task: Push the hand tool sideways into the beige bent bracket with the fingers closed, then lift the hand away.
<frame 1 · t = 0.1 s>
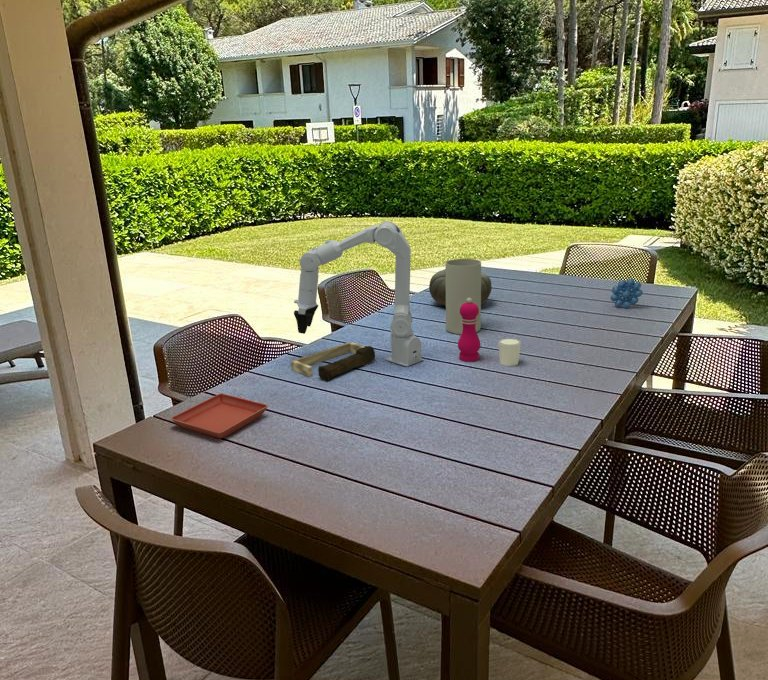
hand: (304, 329, 209), 11 cm above the table, fingers open, 7 cm apart
beige bent bracket: (332, 363, 208), on the table
pepper mill: (469, 358, 208), on the table
cream cylinder: (509, 363, 203), on the table
plant saucer: (221, 423, 170), on the table
gourd: (461, 305, 269), on the table
grapes: (625, 308, 256), on the table
cylinder vase: (463, 330, 237), on the table
hand tool: (348, 370, 203), on the table
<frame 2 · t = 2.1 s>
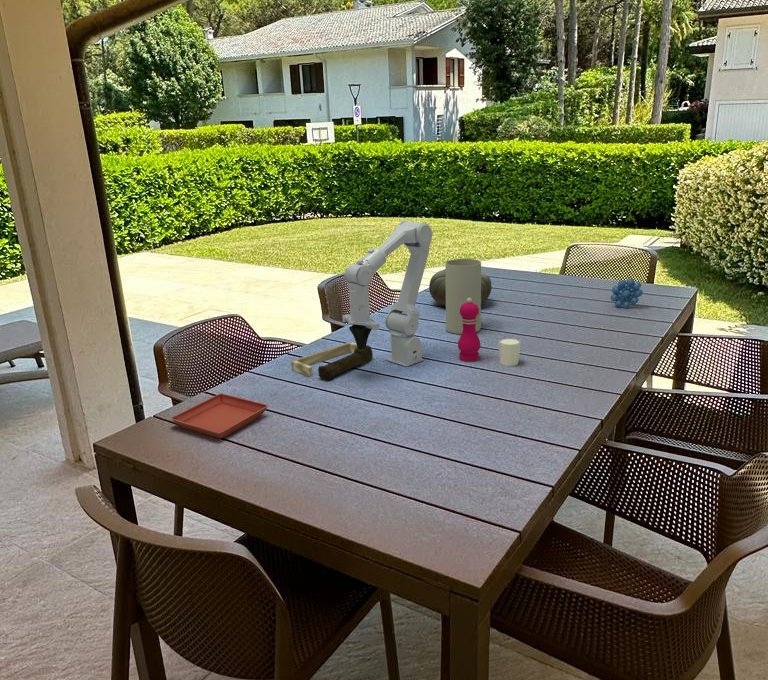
hand: (361, 348, 195), 8 cm above the table, fingers closed
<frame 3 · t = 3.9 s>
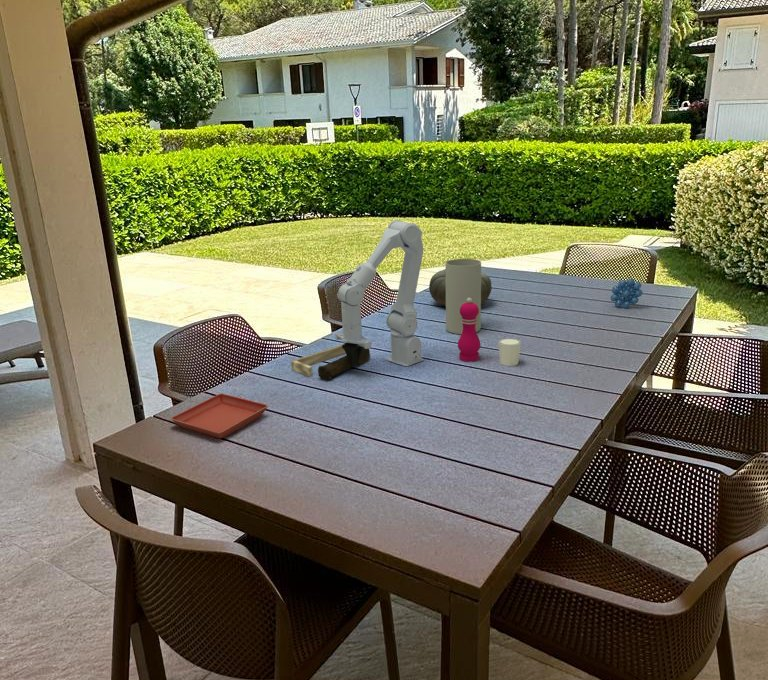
hand: (354, 365, 200), 2 cm above the table, fingers closed
hand tool: (345, 369, 204), on the table, touching gripper
everything else where it was.
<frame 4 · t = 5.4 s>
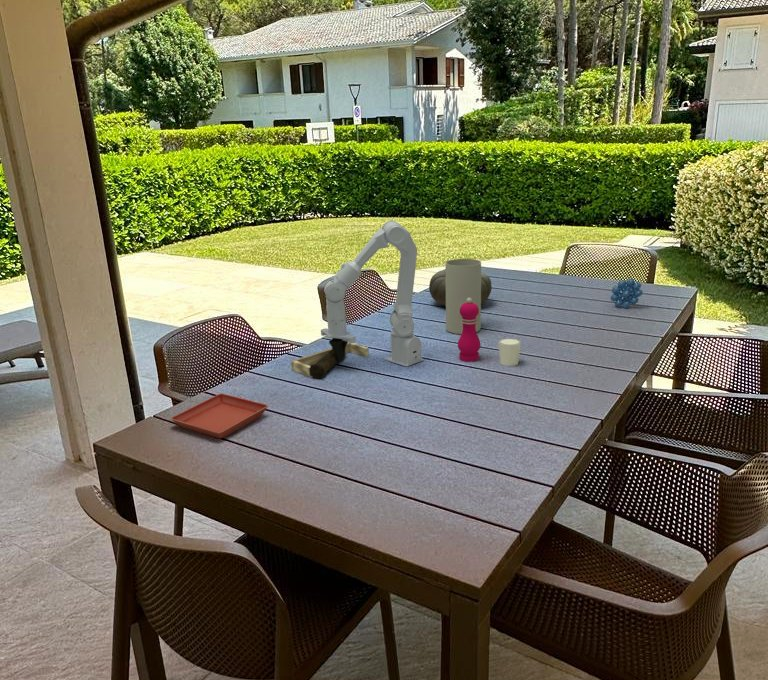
hand: (339, 360, 205), 2 cm above the table, fingers closed, pressing on hand tool
hand tool: (329, 366, 206), on the table, touching gripper, beige bent bracket
everything else where it was.
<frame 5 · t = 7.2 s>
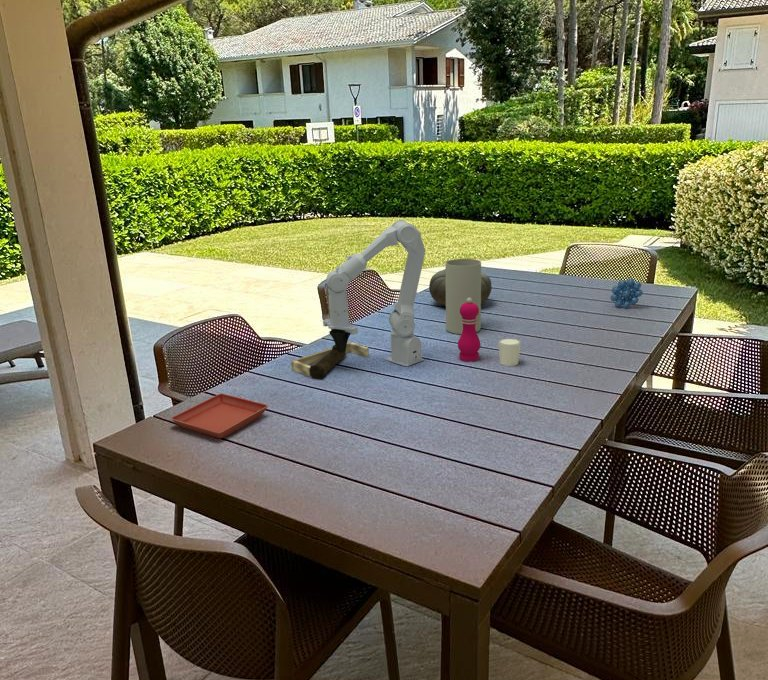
hand: (341, 351, 203), 5 cm above the table, fingers closed
hand tool: (329, 367, 206), on the table
everything else where it was.
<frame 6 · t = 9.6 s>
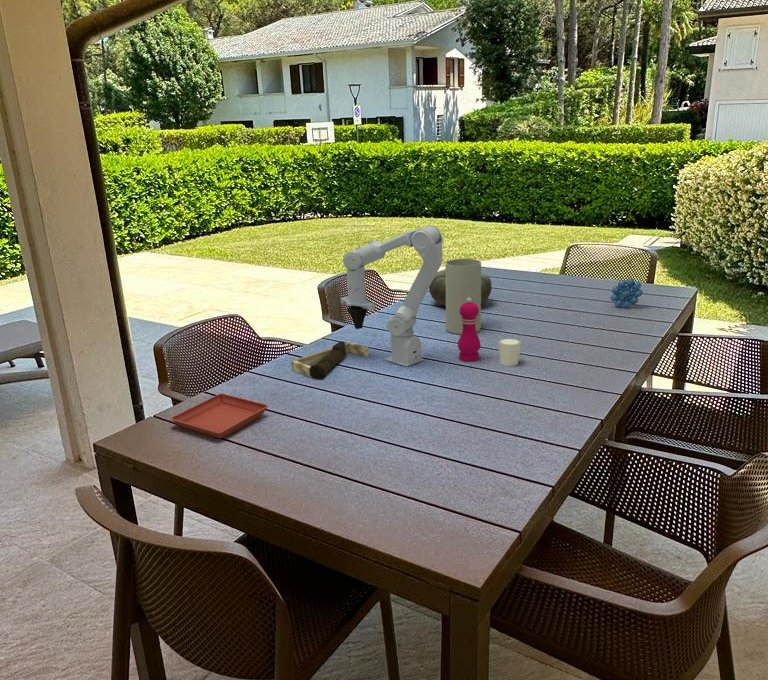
hand: (358, 328, 212), 9 cm above the table, fingers closed
nothing on the table moved.
at the end: hand tool inside the target area on the beige bent bracket (3.2 cm from its centre), point -0.5 cm above the beige bent bracket's base; hand tool moved 7.1 cm from its start; the gripper is holding nothing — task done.
